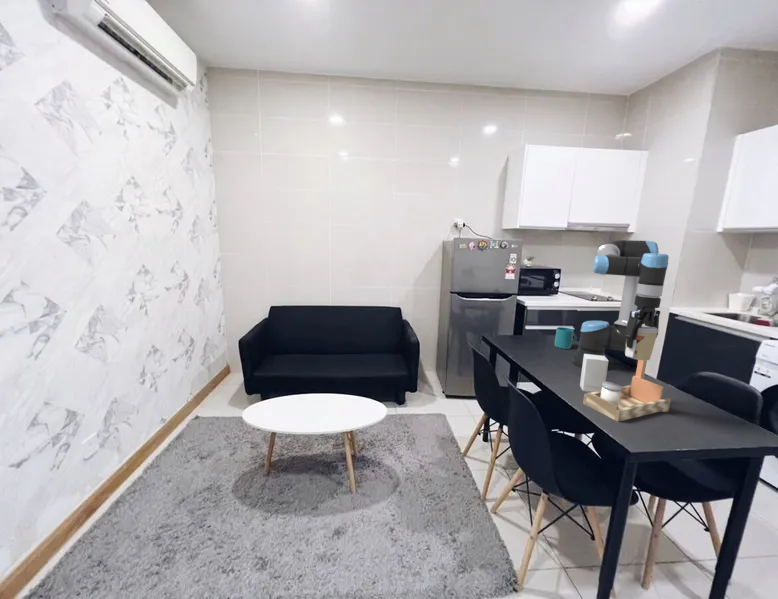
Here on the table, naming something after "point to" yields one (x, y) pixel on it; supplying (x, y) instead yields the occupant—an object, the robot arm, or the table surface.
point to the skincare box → (593, 372)
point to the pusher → (644, 386)
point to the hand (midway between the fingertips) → (637, 354)
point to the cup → (564, 338)
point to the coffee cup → (644, 342)
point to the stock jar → (611, 392)
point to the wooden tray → (625, 405)
